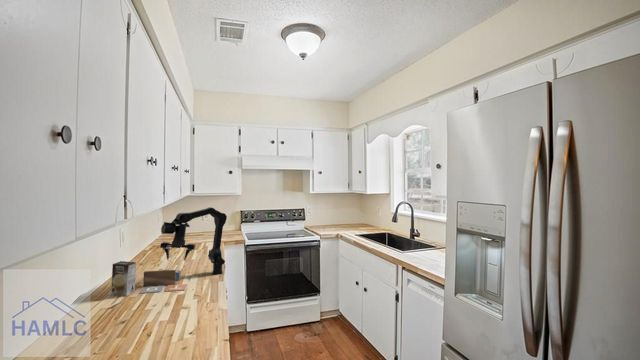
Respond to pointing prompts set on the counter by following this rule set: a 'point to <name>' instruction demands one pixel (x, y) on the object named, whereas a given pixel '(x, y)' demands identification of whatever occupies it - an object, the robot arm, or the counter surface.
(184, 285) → the terracotta pad
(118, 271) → the coffee box
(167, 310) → the counter surface
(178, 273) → the letter cube
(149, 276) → the walnut screen
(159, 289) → the grey pad
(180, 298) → the counter surface
